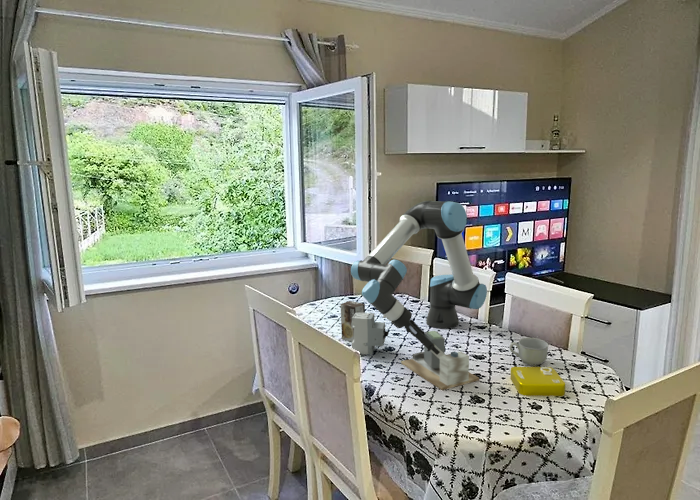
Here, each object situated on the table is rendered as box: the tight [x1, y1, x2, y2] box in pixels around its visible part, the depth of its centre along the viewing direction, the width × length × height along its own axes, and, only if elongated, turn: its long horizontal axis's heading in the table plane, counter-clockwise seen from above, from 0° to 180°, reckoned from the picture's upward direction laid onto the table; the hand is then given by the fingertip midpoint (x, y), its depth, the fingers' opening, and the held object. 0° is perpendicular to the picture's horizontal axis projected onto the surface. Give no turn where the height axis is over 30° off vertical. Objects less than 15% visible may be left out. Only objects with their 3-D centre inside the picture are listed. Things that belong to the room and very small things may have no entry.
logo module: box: [423, 330, 446, 369], centre depth 188 cm, size 5×8×12 cm, turn 11°
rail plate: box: [400, 351, 480, 391], centre depth 186 cm, size 16×26×11 cm, turn 26°
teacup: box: [508, 337, 549, 366], centre depth 194 cm, size 14×11×8 cm
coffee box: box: [339, 300, 366, 343], centre depth 222 cm, size 9×6×16 cm
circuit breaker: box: [351, 312, 390, 355], centre depth 208 cm, size 8×14×15 cm, turn 78°
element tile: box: [509, 366, 566, 397], centre depth 174 cm, size 15×15×5 cm
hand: (440, 353), depth 189 cm, fingers closed on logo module, 8 cm apart
